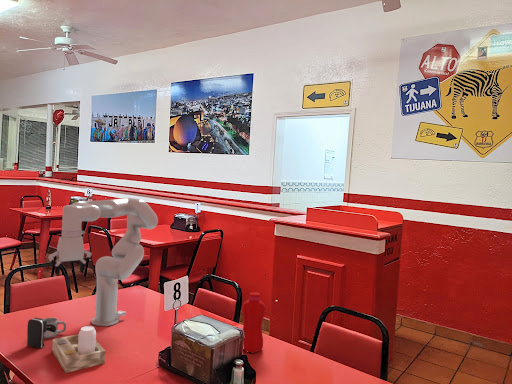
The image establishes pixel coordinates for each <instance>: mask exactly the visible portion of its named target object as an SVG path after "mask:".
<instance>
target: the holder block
mask: <svg viewBox="0 0 512 384" xmlns="http://www.w3.org/2000/svg"><path fill="white" fill-rule="evenodd" d="M78 336H79V333H77V334H73V335H68V336H63V337H57V338H52V349H51V351H52V353H53V355H54V357H55V358H56V359H57V362H58V364H60V366H61V368H62V369H63V371H64V373H65V374H68V373H71V372H75V371H79V370H84V369H88V368H91V367H96V366H99V365H104V364H106V349H104V348H103V347H102V345H101V344H100V343H99V342H98V341H97V340H96V343H95V352H91V353H86V354H82V355H79V354H78Z"/></svg>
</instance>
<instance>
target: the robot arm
mask: <svg viewBox="0 0 512 384" xmlns="http://www.w3.org/2000/svg"><path fill="white" fill-rule="evenodd" d="M123 216H127V217H126V232H125V233H124V235H123V236H122V237H121V238H120V239H119V240H118V241H117V242H116V244H115V245H114V246H113V247H112V250H111V256H106V255H105V256H102V257H100V258H98V259H97V260H96V263H95V267H94V268H95V269H94V270H95V275H96V290H95V291H96V294H95V295H96V296H95V314H94V317H93V318H91V321H90V322H91V324H92V325H94V326H97V327H109V326H113V325H116V324H118V323H119V322H120V317H123V316H127V311H125V310H124V311H122V310H118V311H117V307H118V306H117V305H118V291H119V290H118V289H119V286H118V285H119V284H118V281H119V280H120V281H123V280H126V279H128V278H129V277H130V276H131V275H132V273H134V271H135V270H136V268H137V267H139V264H140V263H141V262H142V260H143V258H144V255H145V250H144V247H143V245H142V244H140V242H141V241H142V234H141V229H144V230H145V229H146V230H153V229H154V228H156V227H157V226H158V223H159V218H158V216H157V214H156V212H155V211H154V210H153V209H152V207H151V206H150V205H149V204H148V202H146V201H145V200H143V199H141V198H132V197H124V198H123V197H122V198H115V199H100V200H82V201H76V202H73V203H72V204H67V205H64V206H63V208H62V217H61V218H62V221H61V223H62V224H61V236H59V238H58V242H57V247H56V251H54V252H53V253H50V254H49V255H48V256H47V257H48V259H49V261H50V263H52V264H53V265H54V274H55V275H56V276H60V272H61V271H60V270H61V267H60V265H61V264H62V263H63V262H73V261H74V262H75V261H80V262H79V272H80V273H81V274H84V272H85V269H86V263H87V262H88V261H90V258H91V257H92V255H93V253H92V252H90V251H89V250H86V249H85V247H84V246H85V245H84V240H83V239H84V237H83V236H82V235H85V233H86V232H85V230H83V229H82V222H94V221H97V220H98V219H99V218H105V219H106V218H110V219H111V218H112V219H113V218H119V217H123ZM85 255H86V256H85ZM55 257H56V260H55V259H54V258H55Z"/></svg>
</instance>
